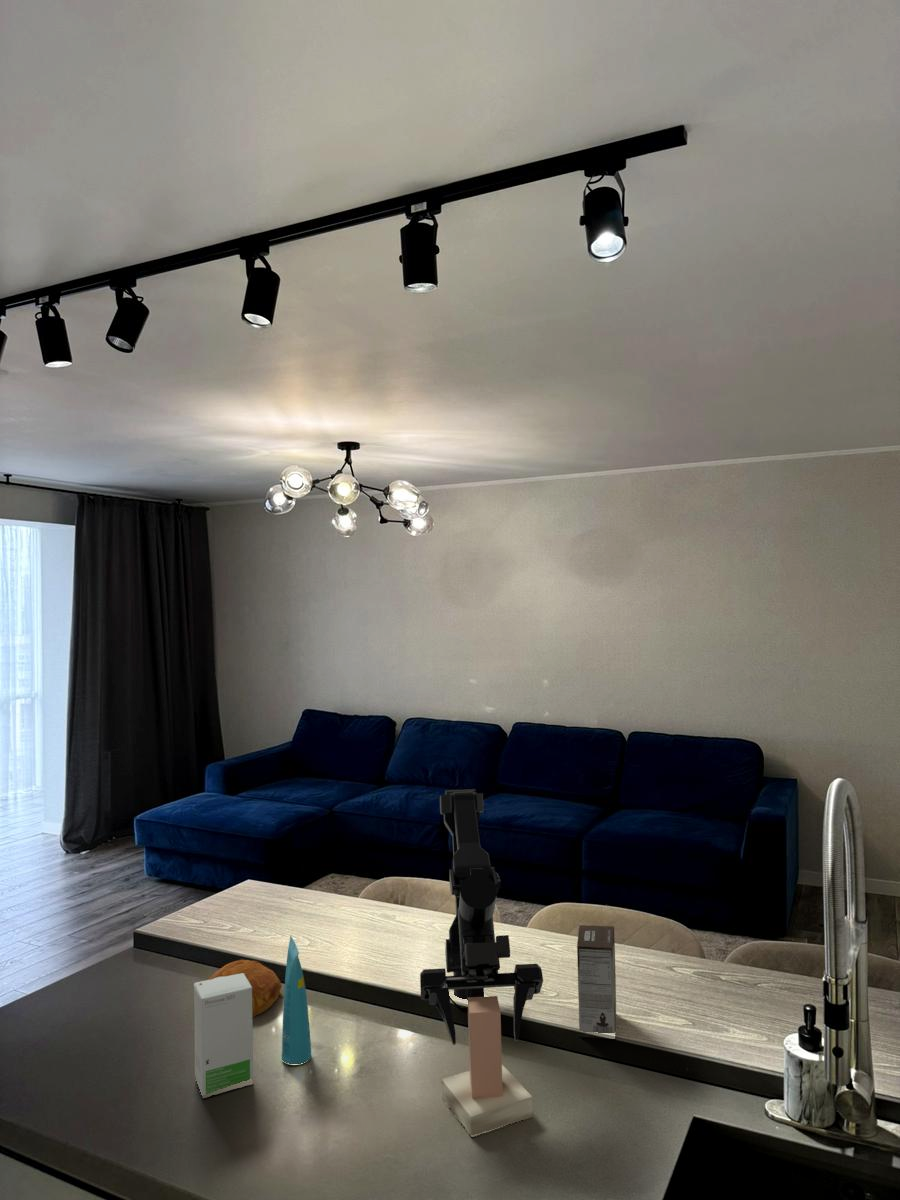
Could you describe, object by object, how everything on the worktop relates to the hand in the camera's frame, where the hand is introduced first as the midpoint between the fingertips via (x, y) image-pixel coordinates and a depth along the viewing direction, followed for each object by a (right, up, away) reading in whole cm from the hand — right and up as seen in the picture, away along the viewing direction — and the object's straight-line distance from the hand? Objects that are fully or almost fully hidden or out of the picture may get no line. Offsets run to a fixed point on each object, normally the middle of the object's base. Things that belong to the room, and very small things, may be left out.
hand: (485, 1042), depth 119 cm
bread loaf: (-45, -12, +35) cm, 58 cm away
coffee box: (+21, -10, +23) cm, 33 cm away
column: (0, -8, +1) cm, 8 cm away
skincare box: (-41, -12, +10) cm, 44 cm away
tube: (-31, -11, +16) cm, 36 cm away
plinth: (0, -11, +1) cm, 11 cm away
